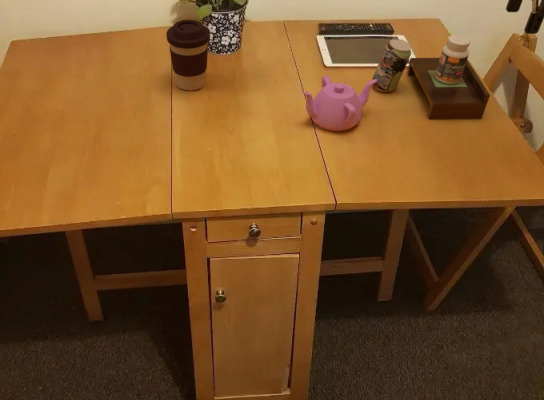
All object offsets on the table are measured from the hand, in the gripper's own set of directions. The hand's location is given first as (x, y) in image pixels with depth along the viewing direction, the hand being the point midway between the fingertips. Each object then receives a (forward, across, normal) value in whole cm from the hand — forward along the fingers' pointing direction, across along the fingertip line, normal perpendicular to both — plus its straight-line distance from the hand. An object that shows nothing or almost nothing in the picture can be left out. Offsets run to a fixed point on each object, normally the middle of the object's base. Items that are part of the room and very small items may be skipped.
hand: (520, 21), depth 105 cm
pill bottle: (+24, +20, +1) cm, 31 cm away
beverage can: (+28, +23, +14) cm, 39 cm away
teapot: (+28, +10, +28) cm, 41 cm away
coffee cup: (+28, +26, +61) cm, 72 cm away
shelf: (+28, +20, +1) cm, 34 cm away
